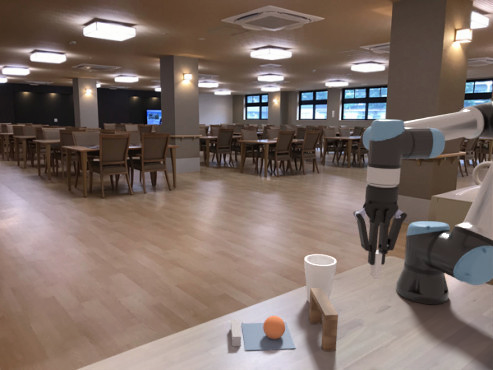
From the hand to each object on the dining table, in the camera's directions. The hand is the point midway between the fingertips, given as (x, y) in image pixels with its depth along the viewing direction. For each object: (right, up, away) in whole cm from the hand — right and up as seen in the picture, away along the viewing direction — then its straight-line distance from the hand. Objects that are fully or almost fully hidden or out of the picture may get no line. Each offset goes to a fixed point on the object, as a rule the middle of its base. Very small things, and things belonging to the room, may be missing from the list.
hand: (375, 276), depth 102 cm
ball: (-26, -13, -1) cm, 28 cm away
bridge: (-13, -15, +2) cm, 20 cm away
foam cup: (-11, -12, +20) cm, 25 cm away
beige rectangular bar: (-35, -15, 0) cm, 38 cm away
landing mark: (-27, -15, 0) cm, 31 cm away
